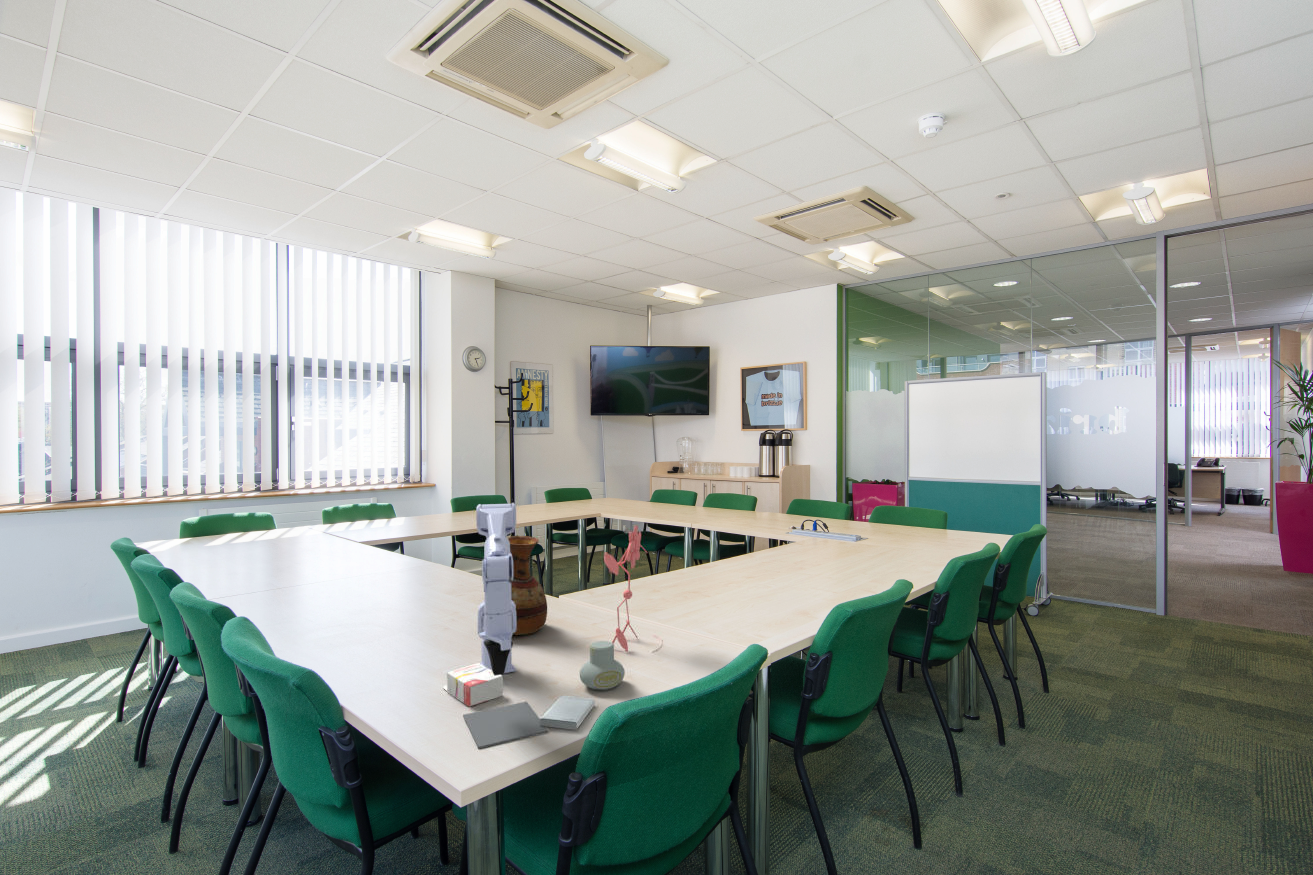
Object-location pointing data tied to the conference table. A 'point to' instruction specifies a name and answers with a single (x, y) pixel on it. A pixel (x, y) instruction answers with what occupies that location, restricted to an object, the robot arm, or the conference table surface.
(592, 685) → the air freshener
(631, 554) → the pink thin stick figure
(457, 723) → the conference table surface
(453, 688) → the ink cartridge box
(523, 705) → the mat
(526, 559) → the ceramic pitcher
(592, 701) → the hard drive
